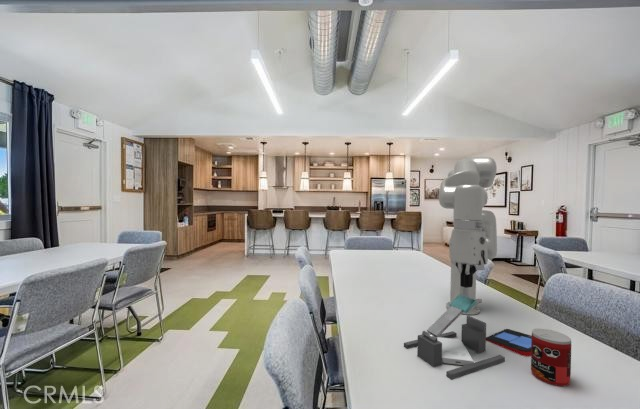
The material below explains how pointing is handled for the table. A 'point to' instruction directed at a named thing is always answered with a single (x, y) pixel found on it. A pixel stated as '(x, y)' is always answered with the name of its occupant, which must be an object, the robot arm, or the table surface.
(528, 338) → the game console
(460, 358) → the external hard drive
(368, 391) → the table surface
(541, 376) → the canned food
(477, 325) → the socket frame
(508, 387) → the table surface
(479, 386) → the table surface
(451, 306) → the rectangular panel
